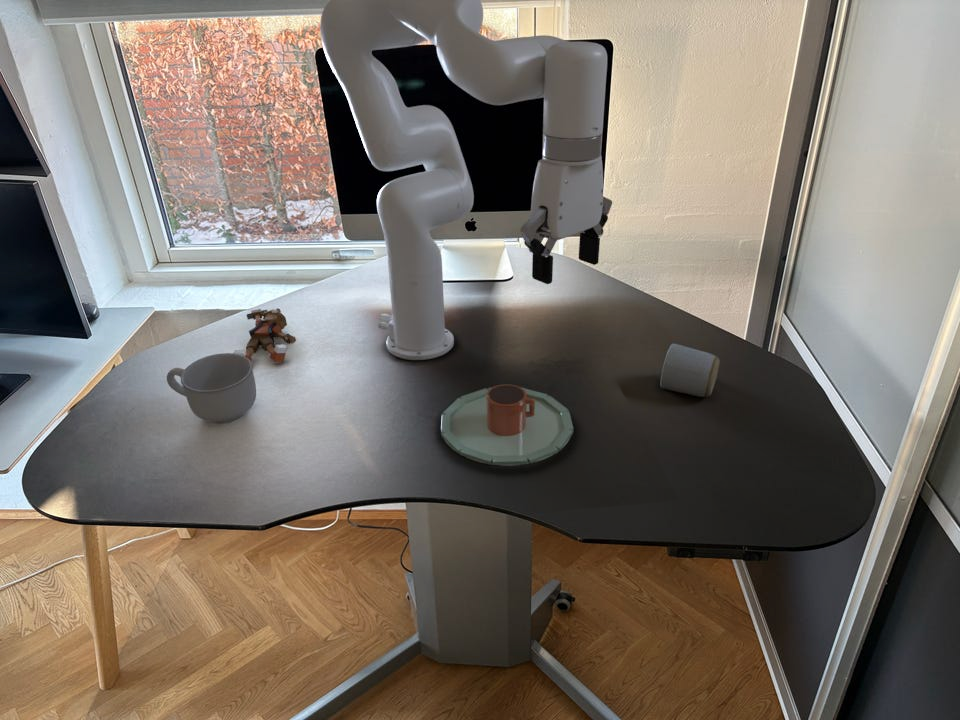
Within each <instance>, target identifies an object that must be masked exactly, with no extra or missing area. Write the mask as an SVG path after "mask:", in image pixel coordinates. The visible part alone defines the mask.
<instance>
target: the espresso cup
mask: <svg viewBox="0 0 960 720" xmlns="http://www.w3.org/2000/svg"><path fill="white" fill-rule="evenodd" d="M490 388H491V389H489V390H488V392H487V394H486V405H487V428H488V429H489V430H490V431H491V432H492V433H494V434H497V435H501V436H512V435H516V434H519V433H521V432H522V431H523V430H524V429H525V428H526V417H532V416H534V414H535V400H534V399H532V398H527V394H526V392H525V390H524V389H522V388H523V387H521V386H519V385H515V384H510V383H509V384H498V385H495V386H493V387H490ZM527 404H529V412H526V406H527Z"/></svg>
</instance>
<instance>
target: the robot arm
mask: <svg viewBox="0 0 960 720" xmlns="http://www.w3.org/2000/svg"><path fill="white" fill-rule="evenodd" d="M483 21H484V8H483V4H482V1H481V0H329V1H328V2H327V3H326V4H325V6H324V8H323V10H322V12H321V16H320V25H319V28H320V29H319V30H320V40H321V45H322V49H323V52H324V54H325V58H326V61H327V62H328V64H329V66H330V68H331V70H332V73H333V74H334V75H335V78H336V79H337V80H338V83H339V84H340V86H341V88H342V90H343V92H344V94H345V96H346V99H347V101H348V104H349V108H350V111H351V113H352V116H353V119H354V121H355V125H356V128H357V130H358V133H359V136H360V138H361V141H362V144H363V148H364V149H365V150H364V151H365V152H366V154H367V155H366V156H367V157H368V159H369V161H370V162H371V165H372V166H373V167H374V168H375V169H377V170H378V171H380V172H381V171H382V172H394V171H399V170H404V169H407V168H412V167H416V166H420V165H423V167H424V170H425V171H420V172H416V173H412V174H408V175H404V176H400V177H397V178H395V179H393V180H390V181H388V182H387V183H386V184H384V185H383V186H382V187H381V189H380V190H379V192H378V194H377V198H376V211H377V215H378V218H379V222H380V226H381V229H382V233H383V238H384V243H385V249H386V258H387V259H386V260H387V269H388V279H389V292H390V303H391V314H387V313H381V315H380V317H379V322H378V324H377V327H378V329H379V330H383V331H388V336H387V338H386V340H385V343H386V349H387V351H388V352H389V353H390V355H393V356H395V357H397V358H399V359H402V360H403V359H404V360H409V361H425V360H431V359H436V358H438V357H441V356H443V355H446V354H447V353H449V351H451V349H453V347H454V345H455V337H454V335H453V333H452V332H451V331H450V330H449V329H447V328H446V324H445V323H446V322H445V300H444V298H445V297H444V281H443V279H444V277H443V257H442V253H441V249H440V247H439V245H438V244H437V242H435V240H434V239H433V238H432V236H431V234H430V232H431V230H433V229H436V228H438V227H441V226H444V225H447V224H450V223H453V222H457V221H460V220H461V219H463V218H465V217H466V216H468V215H469V214H470V212H471V211H472V209H473V206H474V199H475V195H474V194H475V193H474V188H473V184H472V180H471V176H470V174H469V170H468V168H467V165H466V161H465V158H464V156H463V155H464V154H463V152H462V150H461V146H460V143H459V140H458V137H457V135H456V132H455V129H454V125H453V124H452V122H451V120H450V119H449V117H448V116H447V115H446V114H445V112H444V111H443V110H442V109H440V108H438V107H436V106H434V105H431V104H422V105H416V106H410V107H408V106H406V105H405V103H404V100H403V98H402V96H401V94H400V90H399V86H398V84H397V81H396V79H395V78H394V76H393V75H392V73H391V71H389V69H388V68H387V67H386V66H385V64H384V63H382V62H381V61H380V60H378V58H376V57H375V56H374V55H373V53H372V52H373V51H378V50H389V49H398V48H407V47H413V46H416V45H419V44H421V43H423V42H425V41H428V42H430V43H431V44H432V45H434V46H435V48H436V49H435V50H436V54H437V58H438V61H439V63H440V65H441V68H442V71H443V72H444V74H445V75H446V77H447V78H448V79H449V80H450V81H451V82H452V83H453V84H455V85H456V86H457V87H458V88H460V89H461V90H463V91H464V92H466V93H467V94H469V95H470V96H471V97H473V98H475V99H476V100H478V101H480V102H483V103H485V104H488V105H492V106H504V105H508V104H509V105H510V104H514V103H518V102H524V101H529V100H536V99H542V98H543V114H542V117H543V119H542V120H543V121H542V149H541V151H542V153H541V154H542V157H541V159H539V160H538V161H537V166H536V168H535V174H534V177H533V179H534V180H533V184H532V192H531V204H530V217H529V218H528V219H527V220H526V221H525V222H524V224H523V225H521V227H520V229H519V230H520V231H519V232H520V234H521V237H522V239H523V242H524V245H525V246H526V247H527V249H528V251H529V252H530V253H532V263H531V264H532V267H531V269H532V270H531V277H532V279H533V280H535V281H538V282H539V283H543V284H545V285H550V284H552V283H553V275H554V273H553V271H554V268H553V267H554V256H553V255H551V253H552V250H553V249H554V247H555V245H556V244H557V242H558V241H559V240H563V239H566V238H568V237H572V236H574V235H577V234H579V241H578V242H579V243H578V244H579V245H578V260H580V261H582V262H585V263H587V264H590V265H595V266H596V265H597V264H599V257H600V246H601V245H600V242H601V237H602V236H603V235H604V231H605V230H604V227H605V225H606V223H607V221H608V219H609V216H608V215H609V213H610V211H611V208H612V205H613V200H612V199H609V198H608V197H606V196H604V170H603V169H604V168H603V160H602V159H603V157H602V143H603V131H604V130H603V129H604V116H605V102H606V89H607V88H606V87H607V85H606V84H607V75H608V74H607V72H608V53H607V50H606V48H605V47H604V46H603V45H602V44H599V43H597V42H591V41H569V40H565V39H563V38H560V37H558V36H553V35H548V34H547V35H546V34H545V35H531V36H521V37H514V38H504V39H498V40H495V39H494V40H493V39H491V38H489V37H486V36H485V35H483V34H481V33H480V32H481V29H482V25H483ZM544 239H546V242H545V243H544V244H543V243H542V242H543V240H544Z"/></svg>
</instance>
